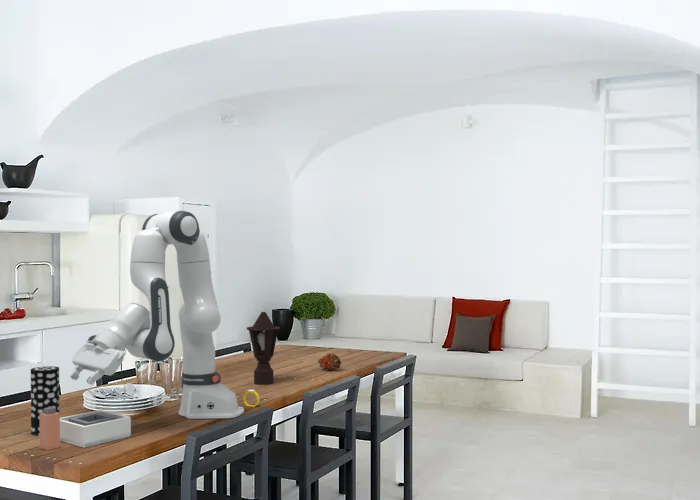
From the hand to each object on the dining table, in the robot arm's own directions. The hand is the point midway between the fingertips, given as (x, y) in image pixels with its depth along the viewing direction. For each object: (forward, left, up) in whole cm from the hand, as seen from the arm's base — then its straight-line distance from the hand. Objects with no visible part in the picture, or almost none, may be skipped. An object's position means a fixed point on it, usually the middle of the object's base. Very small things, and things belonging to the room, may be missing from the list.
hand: (80, 381), depth 230 cm
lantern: (-32, -94, -18) cm, 101 cm away
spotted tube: (+15, -5, -18) cm, 23 cm away
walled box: (-3, -1, -17) cm, 18 cm away
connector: (+4, +11, -17) cm, 21 cm away
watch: (-39, -50, -18) cm, 66 cm away
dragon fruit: (-54, -129, -18) cm, 141 cm away
